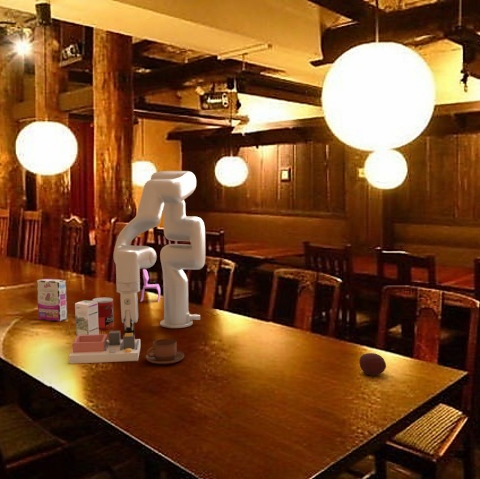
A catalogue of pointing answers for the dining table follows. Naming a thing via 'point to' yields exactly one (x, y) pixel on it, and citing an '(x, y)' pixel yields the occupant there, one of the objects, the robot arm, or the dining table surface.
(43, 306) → the candy bar box
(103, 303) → the canned food
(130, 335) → the tagged breaker
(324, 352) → the dining table surface
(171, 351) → the cup and saucer
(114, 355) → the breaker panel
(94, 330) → the syrup box
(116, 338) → the block
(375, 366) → the potato
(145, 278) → the toy chair
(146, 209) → the robot arm
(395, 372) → the dining table surface
